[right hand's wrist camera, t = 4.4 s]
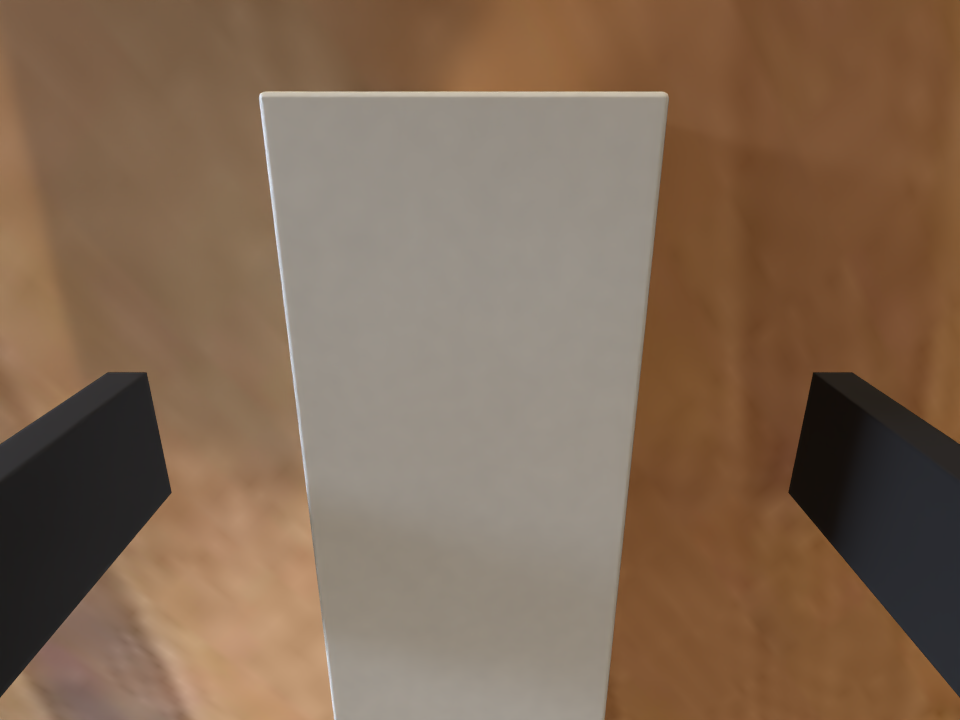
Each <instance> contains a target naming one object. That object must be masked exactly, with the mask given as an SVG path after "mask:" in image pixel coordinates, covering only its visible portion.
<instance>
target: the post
mask: <svg viewBox="0 0 960 720" xmlns="http://www.w3.org/2000/svg"><path fill="white" fill-rule="evenodd" d="M259 102H260V110H261V118H262V126H263V135H264V143H265V151H266V159H267V168H268V176H269V184H270V192H271V201H272V209H273V217H274V226H275V234H276V242H277V250H278V259H279V267H280V275H281V283H282V292H283V300H284V308H285V316H286V325H287V333H288V341H289V349H290V358H291V366H292V374H293V382H294V391H295V399H296V407H297V415H298V424H299V432H300V440H301V448H302V457H303V465H304V473H305V481H306V490H307V498H308V506H309V514H310V523H311V531H312V539H313V547H314V556H315V564H316V572H317V580H318V589H319V597H320V605H321V613H322V622H323V630H324V638H325V646H326V655H327V663H328V671H329V679H330V688H331V696H332V704H333V712H334V720H605V710H606V700H607V691H608V681H609V671H610V662H611V652H612V642H613V633H614V623H615V613H616V604H617V594H618V585H619V575H620V565H621V556H622V546H623V536H624V527H625V517H626V507H627V498H628V488H629V478H630V469H631V459H632V450H633V440H634V430H635V421H636V411H637V401H638V392H639V382H640V372H641V363H642V353H643V343H644V334H645V324H646V315H647V305H648V295H649V286H650V276H651V266H652V257H653V247H654V237H655V228H656V218H657V208H658V199H659V189H660V180H661V170H662V160H663V151H664V141H665V131H666V122H667V112H668V102H669V97H668V94H667V93H665V92H263V93H261V94H260V97H259Z"/></svg>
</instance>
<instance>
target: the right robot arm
mask: <svg viewBox="0 0 960 720" xmlns="http://www.w3.org/2000/svg"><path fill="white" fill-rule="evenodd" d="M788 493H789V494H790V495H791V496H792V497H793V499H794V500H795V501H796V502H797V503H798V505H799V506H800V507H801V508H802V509H803V511H804V512H805V513H806V514H807V515H808V517H809V518H810V519H811V520H812V521H813V523H814V524H815V525H816V526H817V527H818V529H819V530H820V531H821V532H822V533H823V535H824V536H825V537H826V538H827V539H828V541H829V542H830V543H831V544H832V545H833V546H834V548H835V549H836V550H837V551H838V552H839V554H840V555H841V556H842V557H843V558H844V560H845V561H846V562H847V563H848V564H849V566H850V567H851V568H852V569H853V570H854V572H855V573H856V574H857V575H858V576H859V578H860V579H861V580H862V581H863V582H864V584H865V585H866V586H867V587H868V588H869V590H870V591H871V592H872V593H873V594H874V596H875V597H876V598H877V599H878V600H879V601H880V603H881V604H882V605H883V606H884V607H885V609H886V610H887V611H888V612H889V613H890V615H891V616H892V617H893V618H894V619H895V621H896V622H897V623H898V624H899V625H900V627H901V628H902V629H903V630H904V631H905V633H906V634H907V635H908V636H909V637H910V639H911V640H912V641H913V642H914V643H915V645H916V646H917V647H918V648H919V649H920V651H921V652H922V653H923V654H924V655H925V657H926V658H927V659H928V660H929V661H930V662H931V664H932V665H933V666H934V667H935V668H936V670H937V671H938V672H939V673H940V674H941V676H942V677H943V678H944V679H945V680H946V682H947V683H948V684H949V685H950V686H951V688H952V689H953V690H954V691H955V692H956V694H957V695H958V696H959V697H960V444H959V443H957V442H956V441H954V440H953V439H951V438H950V437H948V436H947V435H945V434H944V433H942V432H941V431H939V430H938V429H936V428H935V427H933V426H932V425H930V424H929V423H927V422H926V421H924V420H923V419H921V418H920V417H918V416H917V415H915V414H914V413H912V412H911V411H909V410H908V409H906V408H905V407H903V406H902V405H900V404H899V403H897V402H896V401H894V400H893V399H891V398H890V397H888V396H887V395H885V394H884V393H882V392H881V391H879V390H878V389H876V388H875V387H873V386H872V385H870V384H869V383H867V382H866V381H864V380H863V379H861V378H860V377H858V376H857V375H855V374H854V373H852V372H813V377H812V381H811V386H810V391H809V396H808V401H807V406H806V410H805V415H804V420H803V425H802V430H801V435H800V439H799V444H798V449H797V454H796V459H795V464H794V468H793V473H792V478H791V483H790V488H789V492H788ZM170 494H171V488H170V483H169V478H168V473H167V468H166V464H165V459H164V454H163V449H162V444H161V439H160V435H159V430H158V425H157V420H156V415H155V410H154V406H153V401H152V396H151V391H150V386H149V381H148V377H147V372H108V373H106V374H105V375H103V376H102V377H100V378H99V379H97V380H96V381H94V382H93V383H91V384H90V385H88V386H87V387H85V388H84V389H82V390H81V391H79V392H78V393H76V394H75V395H73V396H72V397H70V398H69V399H67V400H66V401H64V402H63V403H61V404H60V405H58V406H57V407H55V408H54V409H52V410H51V411H49V412H48V413H46V414H45V415H43V416H42V417H40V418H39V419H37V420H36V421H34V422H33V423H31V424H30V425H28V426H27V427H25V428H24V429H22V430H21V431H19V432H18V433H16V434H15V435H13V436H12V437H10V438H9V439H7V440H6V441H4V442H3V443H1V444H0V697H1V696H2V695H3V694H4V692H5V691H6V690H7V689H8V688H9V686H10V685H11V684H12V683H13V682H14V680H15V679H16V678H17V677H18V676H19V674H20V673H21V672H22V671H23V670H24V668H25V667H26V666H27V665H28V664H29V662H30V661H31V660H32V659H33V658H34V656H35V655H36V654H37V653H38V652H39V651H40V649H41V648H42V647H43V646H44V645H45V643H46V642H47V641H48V640H49V639H50V637H51V636H52V635H53V634H54V633H55V631H56V630H57V629H58V628H59V627H60V625H61V624H62V623H63V622H64V621H65V619H66V618H67V617H68V616H69V615H70V613H71V612H72V611H73V610H74V609H75V607H76V606H77V605H78V604H79V603H80V601H81V600H82V599H83V598H84V597H85V596H86V594H87V593H88V592H89V591H90V590H91V588H92V587H93V586H94V585H95V584H96V582H97V581H98V580H99V579H100V578H101V576H102V575H103V574H104V573H105V572H106V570H107V569H108V568H109V567H110V566H111V564H112V563H113V562H114V561H115V560H116V558H117V557H118V556H119V555H120V554H121V552H122V551H123V550H124V549H125V548H126V546H127V545H128V544H129V543H130V542H131V541H132V539H133V538H134V537H135V536H136V535H137V533H138V532H139V531H140V530H141V529H142V527H143V526H144V525H145V524H146V523H147V521H148V520H149V519H150V518H151V517H152V515H153V514H154V513H155V512H156V511H157V509H158V508H159V507H160V506H161V505H162V503H163V502H164V501H165V500H166V499H167V497H168V496H169V495H170Z"/></svg>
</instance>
